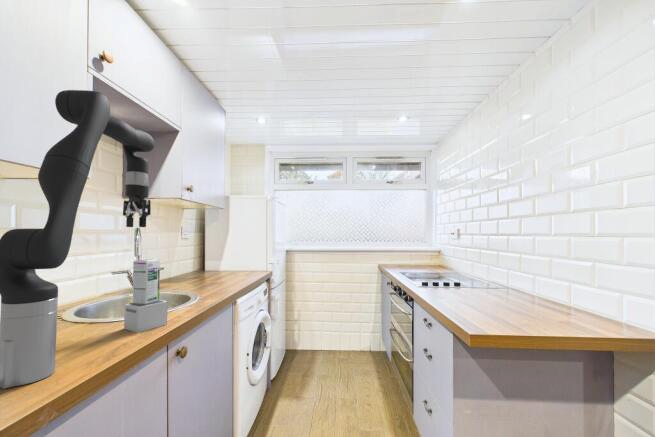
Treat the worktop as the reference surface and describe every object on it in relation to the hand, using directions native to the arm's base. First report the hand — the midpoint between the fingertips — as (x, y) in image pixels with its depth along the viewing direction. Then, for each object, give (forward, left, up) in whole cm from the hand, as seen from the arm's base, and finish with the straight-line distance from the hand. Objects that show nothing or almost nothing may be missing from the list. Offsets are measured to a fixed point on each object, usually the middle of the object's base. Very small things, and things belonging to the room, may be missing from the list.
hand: (136, 227), depth 116 cm
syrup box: (-4, -15, -26) cm, 30 cm away
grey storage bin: (-4, -15, -34) cm, 37 cm away
